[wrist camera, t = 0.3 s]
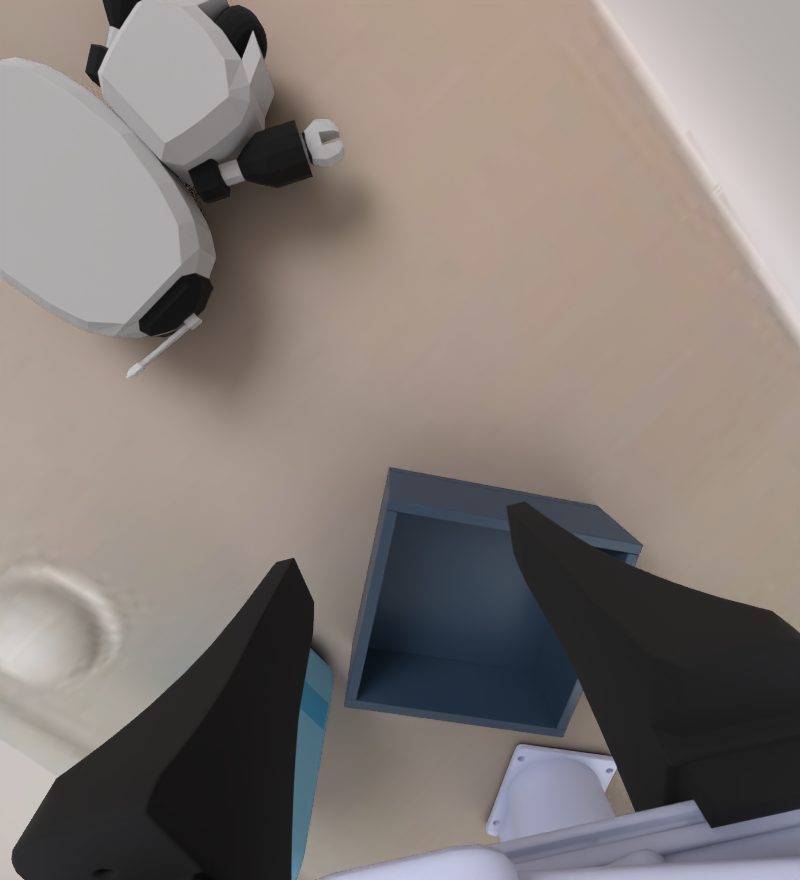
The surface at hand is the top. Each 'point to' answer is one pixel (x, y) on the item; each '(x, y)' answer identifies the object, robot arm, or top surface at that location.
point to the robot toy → (140, 165)
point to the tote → (465, 609)
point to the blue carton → (309, 750)
